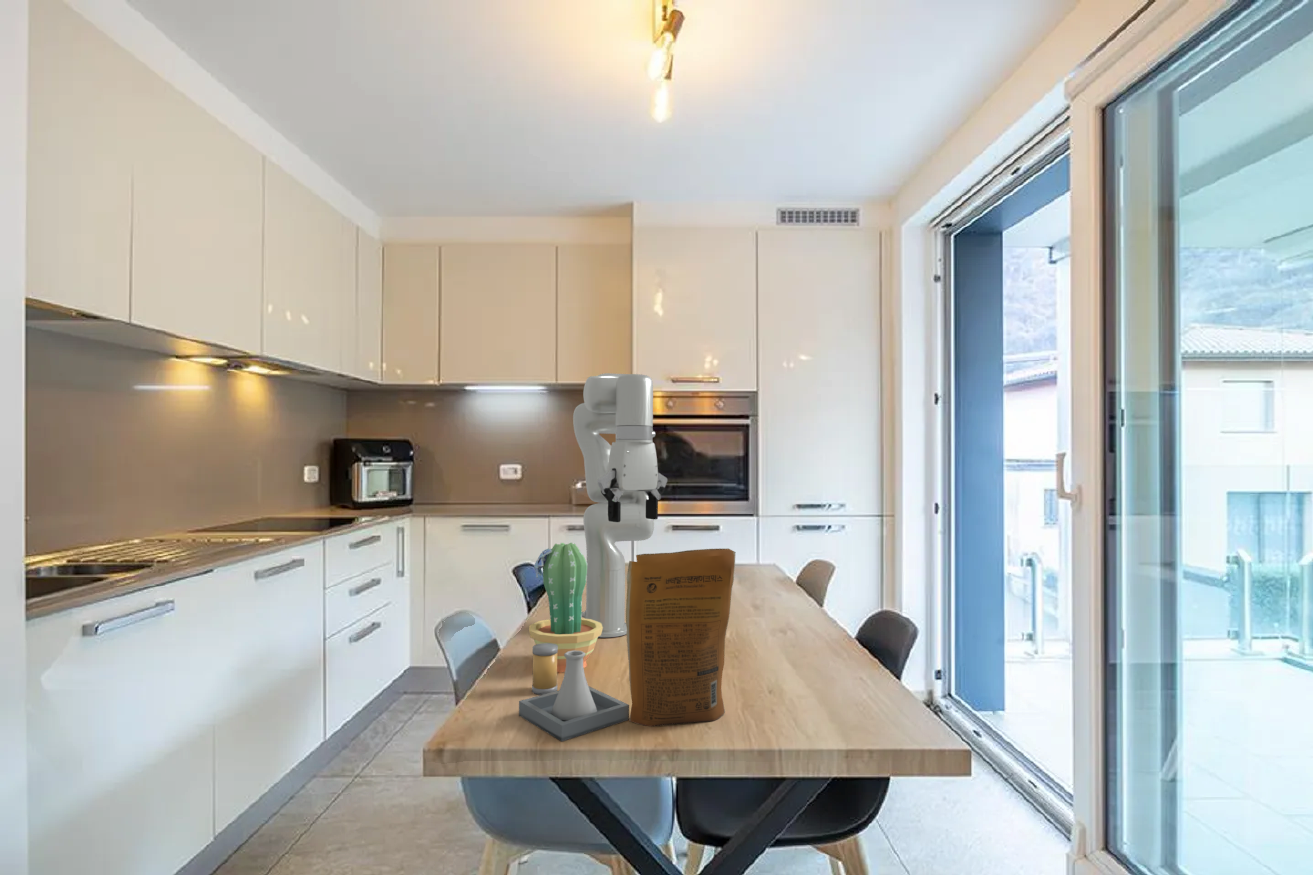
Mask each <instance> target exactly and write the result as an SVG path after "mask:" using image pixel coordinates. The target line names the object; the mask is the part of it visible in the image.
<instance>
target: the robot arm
mask: <svg viewBox="0 0 1313 875" xmlns="http://www.w3.org/2000/svg"><path fill="white" fill-rule="evenodd" d="M653 421H654V382H653V378H652V377H650V376H649V375H647V374H639V373H636V374H635V373H612V372H611V373H609V372H608V373H607V372H605V373H601V374H598V375H593V376H592V375H591V376H589V377H587V378H586V380H585V382H584V387H583V402H582V403H580V404H578V405H577V406H576V407H575V408H574V411H573V415H572V422H573V425H572V426H573V431H574V435H575V439H576V442H577V444H578V447H579V448H580V451H581V454H582V457H583V462H584V465H583V466H584V473H585V474H584V476H585V487H586V491H587V496H588V498H589V499H590V500H591V501H592V502H594V503H593V504H591V505H589V506H588V507H587V508H586V509H585V511H584V513H583V529H584V537H585V543H586V544H585V545H586V546H585V547H586V562H587V577H586V584H585V588H586V593H585V596H586V598H585V599H586V600H585V601H586V602H585V605H586V606H585V608H586V609H585V610H584V611H582V613H581V618H584V619H591V620H594V621H597V622H600V623H601V624H602V627H603V629H602V633H601V635H600V636H598V638H617V637H622V636H625V635H627V626H626V597H625V596H626V560H625V556H624V554H623V553H622V551H621V550H620V549H619V548H618V547H617V546H616V543H618V542H636V541H637V542H639V541H646V540H648V539H650V538H651V537H652V536H653V534H654V530H655V520H658V518H659V516H658V515H659V500H661V499H662V495H663V493H664V492H665V488H666V485H667V483H668V478H667V477H666V476H664V475H663V474H661V473H660V472H659V469H658V458H657V450H656V444H655V443H654V442H653V438H655V437H656V431H655V430H654V429H653V426H654V422H653ZM600 434H605V435H606V434H607V435H611V434H612V435H615V441H612V443H611V444H610V443H609V441H607V440H606V439H605V438H604V437H602V435H600Z"/></svg>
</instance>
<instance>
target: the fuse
mask: <svg viewBox="0 0 1313 875" xmlns="http://www.w3.org/2000/svg"><path fill="white" fill-rule="evenodd" d="M557 653H558V645H556V644H552V643H542V644H537V645H535V644H534V645H533V646H532V686H531V692H532V694H535V695H536V696H540V695H544V694H547V693H551V692H555V691H558V672H557Z"/></svg>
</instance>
